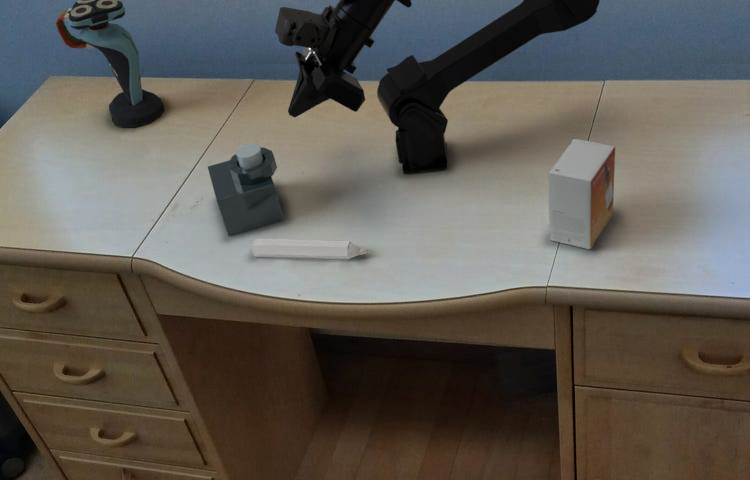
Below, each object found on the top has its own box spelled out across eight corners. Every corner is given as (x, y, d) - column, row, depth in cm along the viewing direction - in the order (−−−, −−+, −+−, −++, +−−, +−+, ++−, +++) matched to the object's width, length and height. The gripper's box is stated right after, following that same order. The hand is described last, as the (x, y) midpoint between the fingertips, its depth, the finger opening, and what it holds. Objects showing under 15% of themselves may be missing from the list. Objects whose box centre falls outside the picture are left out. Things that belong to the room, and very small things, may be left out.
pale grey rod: (372, 262, 121) (257, 258, 125) (374, 247, 121) (259, 243, 125) (367, 255, 118) (250, 251, 122) (369, 240, 119) (252, 236, 123)
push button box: (279, 184, 136) (267, 137, 130) (292, 218, 129) (279, 170, 124) (219, 201, 135) (203, 155, 129) (228, 236, 128) (213, 190, 123)
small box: (590, 251, 115) (591, 182, 108) (548, 240, 118) (546, 172, 110) (614, 214, 120) (616, 145, 112) (573, 204, 122) (573, 136, 115)
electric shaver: (159, 124, 153) (118, 11, 140) (91, 133, 155) (44, 21, 141) (169, 96, 160) (130, -15, 146) (104, 104, 161) (59, -5, 148)
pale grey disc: (261, 152, 128) (257, 140, 127) (265, 165, 126) (262, 152, 124) (237, 159, 128) (233, 147, 127) (241, 172, 125) (237, 159, 124)
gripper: (289, -43, 120) (228, 57, 126) (322, 14, 106) (252, 123, 113) (356, 0, 126) (295, 93, 132) (396, 59, 113) (326, 159, 119)
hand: (291, 114), depth 124 cm, fingers closed
